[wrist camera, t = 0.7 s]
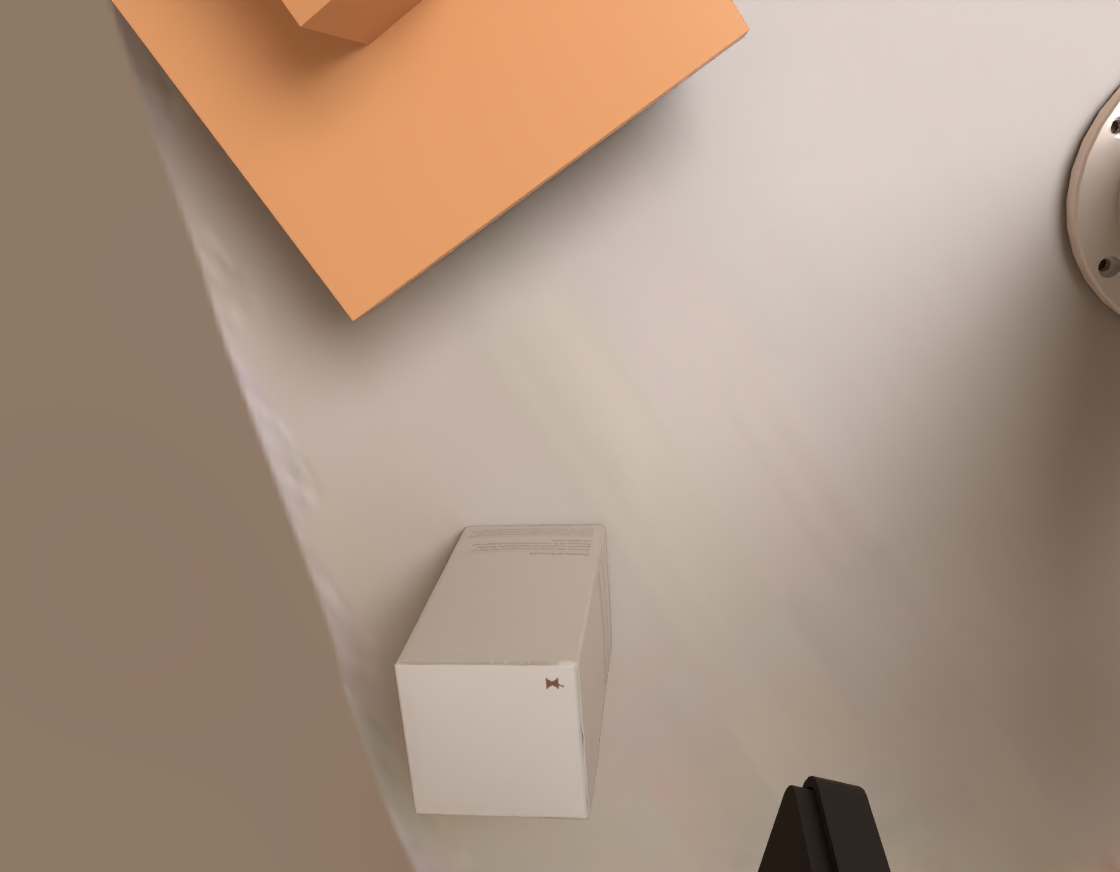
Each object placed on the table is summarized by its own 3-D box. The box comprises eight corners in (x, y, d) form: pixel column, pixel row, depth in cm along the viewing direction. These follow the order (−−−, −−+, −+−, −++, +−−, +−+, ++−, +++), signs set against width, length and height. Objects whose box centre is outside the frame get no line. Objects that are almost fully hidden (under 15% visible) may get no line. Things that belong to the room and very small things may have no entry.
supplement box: (462, 522, 46) (389, 658, 35) (608, 522, 46) (584, 662, 34) (474, 649, 49) (409, 818, 37) (613, 651, 48) (593, 825, 36)
